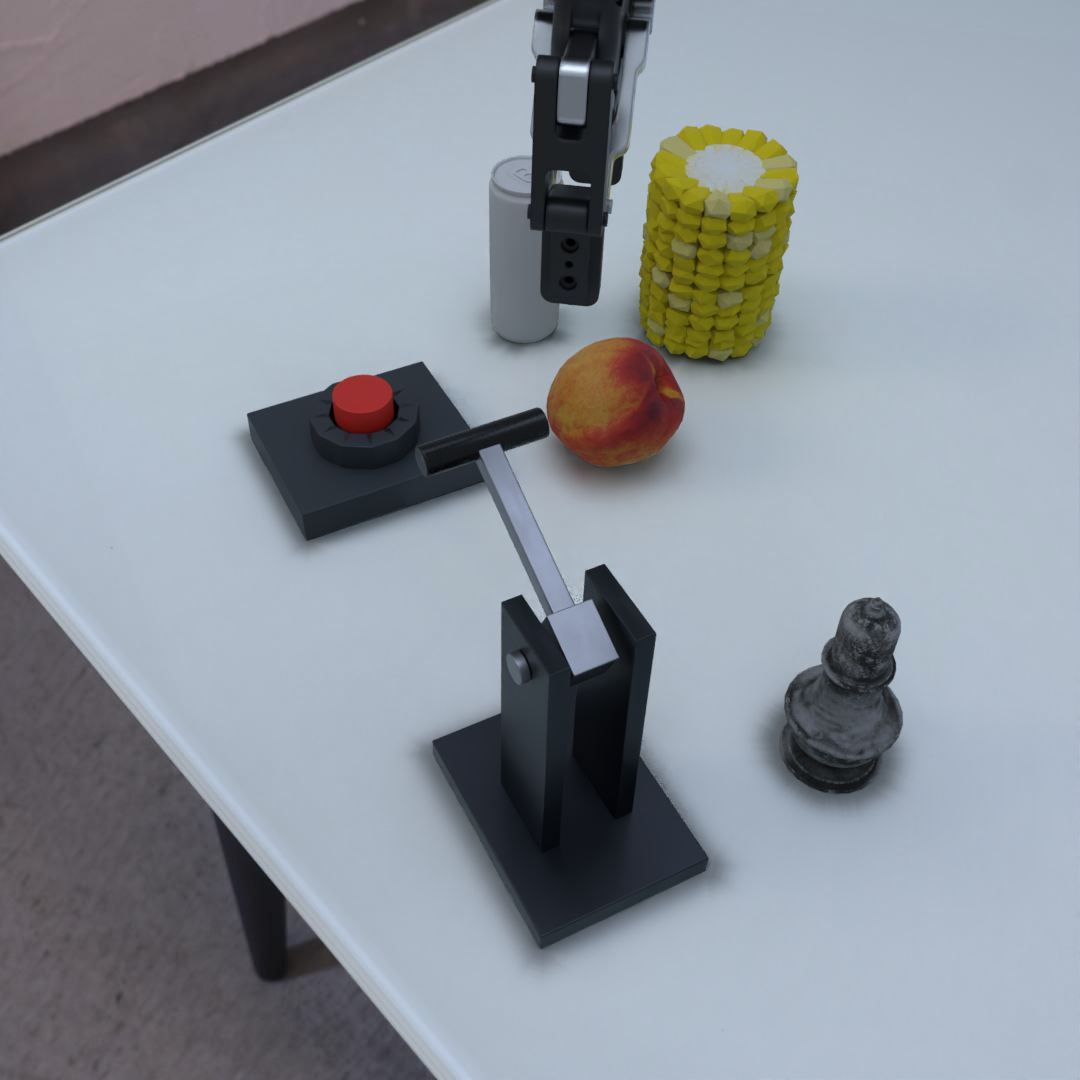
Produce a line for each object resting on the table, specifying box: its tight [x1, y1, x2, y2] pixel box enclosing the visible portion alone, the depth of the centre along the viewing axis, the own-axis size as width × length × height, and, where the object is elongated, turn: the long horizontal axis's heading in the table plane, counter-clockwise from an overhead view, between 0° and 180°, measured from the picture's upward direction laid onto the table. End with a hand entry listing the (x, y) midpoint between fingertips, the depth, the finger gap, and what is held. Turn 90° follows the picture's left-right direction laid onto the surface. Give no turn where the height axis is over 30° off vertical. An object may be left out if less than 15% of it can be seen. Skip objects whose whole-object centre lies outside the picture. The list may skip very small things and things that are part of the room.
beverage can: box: [488, 154, 565, 344], centre depth 88 cm, size 5×5×12 cm
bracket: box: [431, 563, 710, 950], centre depth 60 cm, size 12×9×15 cm
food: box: [638, 123, 800, 362], centre depth 87 cm, size 15×12×10 cm
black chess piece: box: [779, 596, 904, 795], centre depth 64 cm, size 6×6×12 cm
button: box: [332, 374, 394, 434], centre depth 79 cm, size 4×4×2 cm
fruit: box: [545, 336, 686, 468], centre depth 80 cm, size 8×8×8 cm
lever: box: [415, 406, 620, 687], centre depth 57 cm, size 12×6×2 cm, turn 27°
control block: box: [246, 360, 485, 541], centre depth 81 cm, size 12×10×4 cm
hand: (583, 236), depth 52 cm, fingers open, 8 cm apart
